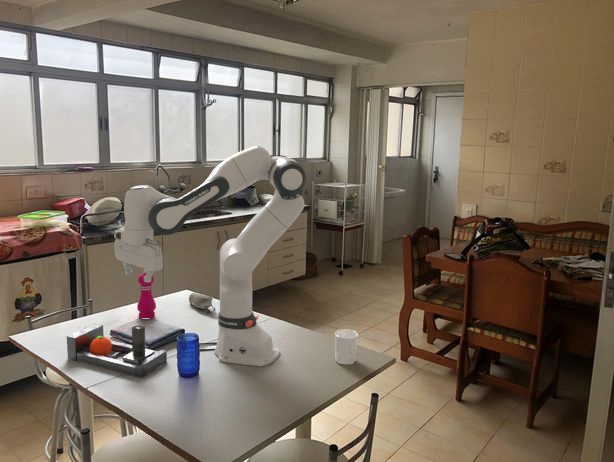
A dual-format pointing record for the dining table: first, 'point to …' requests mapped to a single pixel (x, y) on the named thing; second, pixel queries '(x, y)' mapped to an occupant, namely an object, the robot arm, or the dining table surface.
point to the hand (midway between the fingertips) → (138, 278)
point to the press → (81, 352)
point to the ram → (138, 346)
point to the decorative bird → (201, 301)
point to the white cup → (345, 346)
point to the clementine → (101, 346)
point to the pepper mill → (146, 298)
